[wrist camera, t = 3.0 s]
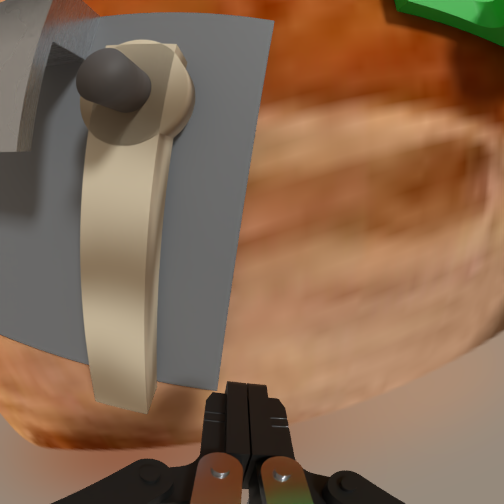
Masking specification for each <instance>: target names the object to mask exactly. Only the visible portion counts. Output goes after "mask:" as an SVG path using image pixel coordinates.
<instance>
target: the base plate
mask: <svg viewBox="0 0 504 504" xmlns="http://www.w3.org/2000/svg"><path fill="white" fill-rule="evenodd" d="M273 26H274V21H271V20H265V19H258V18H251V17H242V16H233V15H222V14H207V13H139V14H125V15H114V16H105V17H100V20H99V23H98V26H97V30H96V33H95V36H94V40H93V43H92V47H91V50H90V54H89V55H91V54H92V53H94V52H95V51H97V50H100V49H103V48H106V46H107V45H119V44H122V43H125V42H128V41H132V40H152V41H156V42H159V43H161V44H177V45H178V47H179V49H180V50H181V52H182V54H183V56H184V57H185V59H186V61H187V66H186V70H187V72H188V73H189V75H190V77H191V79H192V81H193V84H194V87H195V106H194V110H193V113H192V115H191V117H190V119H189V121H188V123H187V124H186V126H185V127H184V128H183V130H182V131H181V132H180V133H179V134H178V135H177V136H175V137H174V138H173V144H172V151H171V158H170V165H169V173H168V181H167V189H166V198H165V207H164V217H163V228H162V239H161V252H160V267H159V284H158V307H157V381H159V382H164V383H170V384H175V385H181V386H187V387H193V388H200V389H207V390H214V391H217V387H218V380H219V372H220V365H221V357H222V350H223V343H224V336H225V328H226V321H227V314H228V307H229V300H230V293H231V286H232V279H233V273H234V266H235V259H236V252H237V246H238V239H239V232H240V226H241V219H242V213H243V206H244V200H245V193H246V187H247V181H248V174H249V168H250V162H251V156H252V149H253V143H254V137H255V131H256V125H257V119H258V113H259V107H260V101H261V95H262V89H263V83H264V77H265V72H266V66H267V60H268V54H269V49H270V43H271V37H272V32H273ZM82 63H83V62H74V63H65V64H58V65H51V66H46V68H45V72H44V76H43V80H42V85H41V89H40V94H39V100H38V105H37V111H36V117H35V123H34V130H33V138H32V146H31V151H22V152H0V335H3V336H5V337H8V338H10V339H13V340H15V341H18V342H20V343H23V344H26V345H29V346H31V347H34V348H37V349H40V350H43V351H46V352H49V353H52V354H55V355H58V356H61V357H64V358H67V359H70V360H74V361H77V362H81V363H84V364H87V365H89V360H88V353H87V345H86V337H85V328H84V318H83V305H82V290H81V265H80V225H81V200H82V185H83V173H84V162H85V153H86V145H87V138H88V129H87V127H86V125H85V123H84V121H83V118H82V115H81V110H80V94H79V93H78V91H77V87H76V76H77V73H78V70H79V68H80V66H81V64H82Z"/></svg>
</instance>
